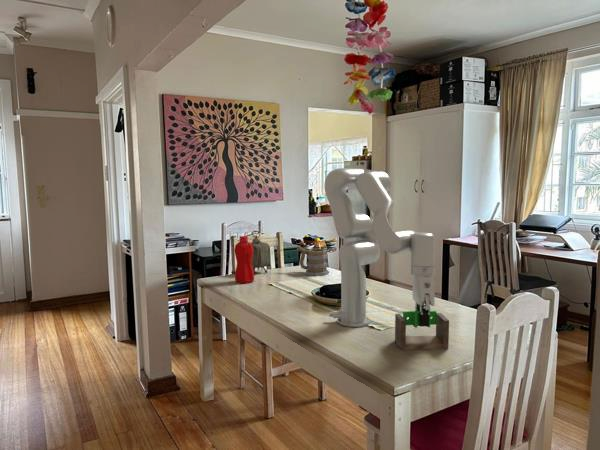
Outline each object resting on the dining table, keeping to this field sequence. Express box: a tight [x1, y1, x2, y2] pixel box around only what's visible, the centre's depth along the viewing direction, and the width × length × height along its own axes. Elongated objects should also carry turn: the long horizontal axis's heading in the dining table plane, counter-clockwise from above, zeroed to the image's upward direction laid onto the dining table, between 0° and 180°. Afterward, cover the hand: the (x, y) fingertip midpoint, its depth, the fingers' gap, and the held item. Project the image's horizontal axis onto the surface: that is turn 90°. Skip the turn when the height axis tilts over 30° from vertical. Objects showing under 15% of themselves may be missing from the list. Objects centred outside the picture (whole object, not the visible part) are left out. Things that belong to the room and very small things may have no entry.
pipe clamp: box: [402, 310, 438, 329], centre depth 149 cm, size 11×4×5 cm, turn 94°
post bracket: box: [394, 312, 450, 350], centre depth 150 cm, size 16×8×10 cm, turn 91°
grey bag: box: [250, 230, 271, 274], centre depth 264 cm, size 14×9×25 cm, turn 49°
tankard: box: [296, 246, 330, 277], centre depth 262 cm, size 20×13×15 cm, turn 58°
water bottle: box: [233, 235, 255, 284], centre depth 240 cm, size 9×11×25 cm
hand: (422, 323), depth 150 cm, fingers closed on pipe clamp, 3 cm apart
